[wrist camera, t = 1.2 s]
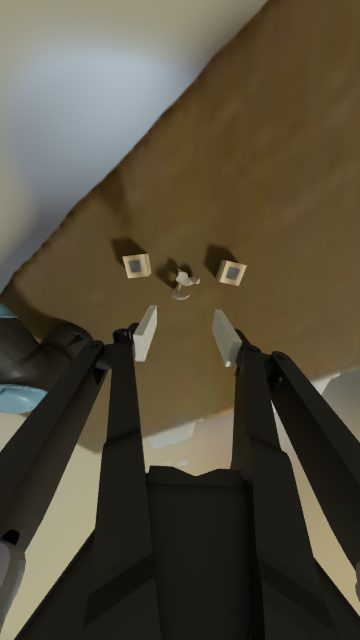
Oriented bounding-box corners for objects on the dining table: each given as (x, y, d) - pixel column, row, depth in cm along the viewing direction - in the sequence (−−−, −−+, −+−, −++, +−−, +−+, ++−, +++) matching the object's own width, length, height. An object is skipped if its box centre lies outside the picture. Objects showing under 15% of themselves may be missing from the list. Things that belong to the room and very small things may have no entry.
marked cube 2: (134, 275, 39) (128, 278, 35) (129, 255, 37) (122, 256, 32) (151, 273, 39) (147, 276, 34) (147, 253, 37) (142, 254, 32)
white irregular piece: (192, 256, 35) (201, 283, 30) (199, 273, 41) (208, 299, 35) (163, 271, 38) (167, 298, 32) (173, 285, 43) (178, 311, 38)
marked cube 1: (215, 278, 39) (220, 281, 35) (221, 259, 37) (227, 260, 33) (232, 281, 40) (238, 286, 35) (239, 263, 38) (247, 265, 33)
